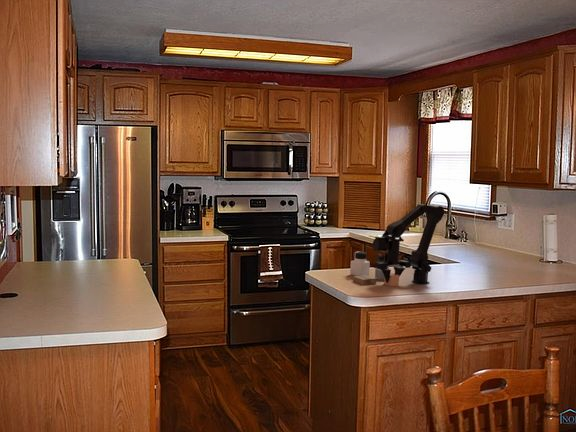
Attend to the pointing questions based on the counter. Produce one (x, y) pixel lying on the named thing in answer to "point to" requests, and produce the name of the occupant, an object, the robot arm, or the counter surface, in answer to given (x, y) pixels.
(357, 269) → the medicine bottle
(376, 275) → the grey cube
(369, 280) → the walnut slab
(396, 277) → the terracotta cube
